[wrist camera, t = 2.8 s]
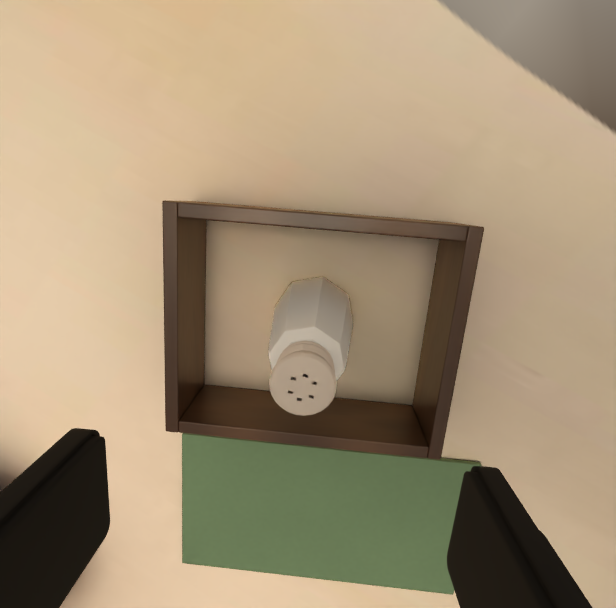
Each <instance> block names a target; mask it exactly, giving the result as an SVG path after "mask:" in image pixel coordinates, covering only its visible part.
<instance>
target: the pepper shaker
mask: <svg viewBox="0 0 616 608" xmlns="http://www.w3.org/2000/svg"><path fill="white" fill-rule="evenodd" d="M352 329H353V319H352V313H351V306H350V300H349V294H347V293H346V292H345V291H343V290H342V289H340V288H339V287H337V286H336V285H335V284H333V283H332V282H330V281H329V280H327V279H326V278H325V277H317V278H311V279H305V280H299V281H293V282H292V283H291V284H290V285H289V287H288V288H287V290H286V291H285V293H284V294H283V295H282V297H281V298H280V300H279V301H278V303H277V304H276V305H275V309H274V315H273V322H272V329H271V335H270V342H269V360H270V364H271V369H272V372H271V375H270V379H269V387H270V392H271V395H272V397H273V399H274V400H275V402H276V403H277V404H278V405H279V406H280V407H281V408H283V409H284V410H286V411H287V412H290V413H292V414H295V415H303V416H306V415H313V414H316V413H318V412H321V411H322V410H324V409H325V408H326V407H328V406H329V404H330V403H331V402H332V401H333V399H334V396H335V394H336V388H337V382H336V381H337V380H338V379H339V378H340V376H341V375H342V374H343V372H344V371H345V368H346V364H347V358H348V352H349V346H350V340H351V334H352Z"/></svg>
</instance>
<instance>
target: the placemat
mask: <svg viewBox="0 0 616 608" xmlns="http://www.w3.org/2000/svg"><path fill="white" fill-rule="evenodd" d="M473 466H482V465H481V463H480V462H475V461H465V460H455V459H446V458H441V459H440V460H438V459H429V458H419V457H409V456H400V455H390V454H381V453H371V452H362V451H352V450H342V449H333V448H323V447H314V446H304V445H295V444H285V443H275V442H266V441H256V440H247V439H237V438H227V437H218V436H208V435H199V434H189V433H183V434H182V563H187V564H196V565H204V566H213V567H222V568H230V569H239V570H247V571H256V572H264V573H273V574H282V575H290V576H299V577H307V578H316V579H324V580H333V581H342V582H350V583H359V584H367V585H376V586H384V587H393V588H401V589H410V590H419V591H427V592H436V593H444V594H453V593H454V587H453V584H452V581H451V578H450V575H449V572H448V567H447V552H448V547H449V543H450V538H451V533H452V528H453V523H454V519H455V514H456V509H457V504H458V500H459V495H460V490H461V485H462V481H463V476H464V473H465V472H466V471H471V469H472V467H473Z"/></svg>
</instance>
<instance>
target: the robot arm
mask: <svg viewBox="0 0 616 608" xmlns="http://www.w3.org/2000/svg"><path fill="white" fill-rule="evenodd" d="M109 525H110V512H109V496H108V480H107V464H106V447H105V439H104V437H100V435H99V433H98V431H96V430H89V429H78V428H74V429H71V430H70V431H69V432H68V433H66V434H65V435H64V436H63V437H62V438H61V439H60V440H59V441H57V442H56V443H55V444H54V445H53V446H52V447H51V448H50V449H49V450H47V451H46V452H45V453H44V454H43V455H42V456H41V457H40V458H38V459H37V460H36V461H35V462H34V463H33V464H32V465H31V466H30V467H28V468H27V469H26V470H25V471H24V472H23V473H22V474H21V475H19V476H18V477H17V478H16V479H15V480H14V481H13V482H12V483H10V484H9V485H8V486H7V487H6V488H5V489H4V490H3V491H2V492H0V608H59V607H60V606H61V604H62V602H63V601H64V599H65V598H66V596H67V595H68V593H69V592H70V590H71V589H72V587H73V586H74V584H75V583H76V581H77V580H78V578H79V577H80V575H81V574H82V572H83V570H84V569H85V567H86V566H87V564H88V563H89V561H90V560H91V558H92V557H93V555H94V554H95V552H96V551H97V549H98V548H99V546H100V545H101V543H102V542H103V540H104V538H105V537H106V535H107V532H108V529H109ZM447 567H448V572H449V575H450V578H451V581H452V584H453V587H454V590H455V593H456V596H457V599H458V602H459V605H460V608H592V606H591V605H590V603H589V602H588V600H587V599H586V597H585V596H584V594H583V593H582V591H581V590H580V588H579V587H578V585H577V584H576V582H575V581H574V579H573V578H572V576H571V575H570V573H569V572H568V570H567V569H566V567H565V565H564V564H563V562H562V561H561V559H560V558H559V556H558V555H557V553H556V552H555V550H554V549H553V547H552V546H551V544H550V543H549V541H548V540H547V538H546V537H545V536H544V534H543V533H542V532H541V531H539V530H538V528H537V527H536V525H535V524H534V522H533V520H532V519H531V517H530V516H529V514H528V513H527V511H526V510H525V508H524V507H523V505H522V504H521V502H520V501H519V499H518V497H517V496H516V494H515V493H514V491H513V490H512V488H511V487H510V485H509V484H508V482H507V481H506V479H505V478H504V476H503V474H502V473H501V471H500V470H499V469H497V468H492V467H482V466H473V467H472V469H471V471H466V472H465V473H464V476H463V481H462V485H461V490H460V495H459V500H458V504H457V509H456V514H455V519H454V523H453V528H452V533H451V538H450V543H449V547H448V552H447Z"/></svg>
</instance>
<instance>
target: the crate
mask: <svg viewBox="0 0 616 608" xmlns="http://www.w3.org/2000/svg"><path fill="white" fill-rule="evenodd" d="M206 220H214V221H226V222H238V223H250V224H261V225H273V226H285V227H297V228H309V229H321V230H333V231H345V232H357V233H369V234H380V235H392V236H404V237H416V238H428V239H439V245H438V251H437V257H436V263H435V270H434V276H433V282H432V288H431V294H430V301H429V307H428V313H427V319H426V325H425V331H424V338H423V344H422V350H421V356H420V362H419V369H418V375H417V381H416V387H415V393H414V399H413V406H412V405H403V404H393V403H383V402H373V401H363V400H353V399H343V398H334V399H333V401H332V402H331V403H330V404H329V406H328V407H326V408H325V409H324V410H322V411H321V412H318V413H316V414H313V415H306V416H303V415H295V414H292V413H290V412H287V411H286V410H284V409H283V408H281V407H280V406H279V405H278V404H277V403H276V402H275V400H274V399H273V397H272V395H271V392H270V391H262V390H252V389H242V388H232V387H222V386H212V385H204V347H205V272H206ZM483 232H484V227H479V226H473V225H466V224H459V223H451V222H439V221H427V220H415V219H403V218H390V217H378V216H366V215H354V214H342V213H330V212H318V211H306V210H293V209H281V208H269V207H257V206H245V205H233V204H221V203H208V202H196V201H163V269H164V342H165V415H166V431H169V432H180V433H189V434H199V435H208V436H218V437H227V438H237V439H247V440H256V441H266V442H275V443H285V444H295V445H304V446H314V447H323V448H333V449H342V450H352V451H362V452H371V453H381V454H390V455H400V456H409V457H419V458H429V459H438V460H440V459H441V454H442V449H443V443H444V438H445V433H446V428H447V422H448V417H449V412H450V406H451V401H452V396H453V390H454V385H455V380H456V375H457V369H458V364H459V359H460V353H461V348H462V343H463V337H464V332H465V327H466V322H467V316H468V311H469V306H470V300H471V295H472V290H473V285H474V279H475V274H476V269H477V263H478V258H479V253H480V247H481V242H482V237H483Z"/></svg>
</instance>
